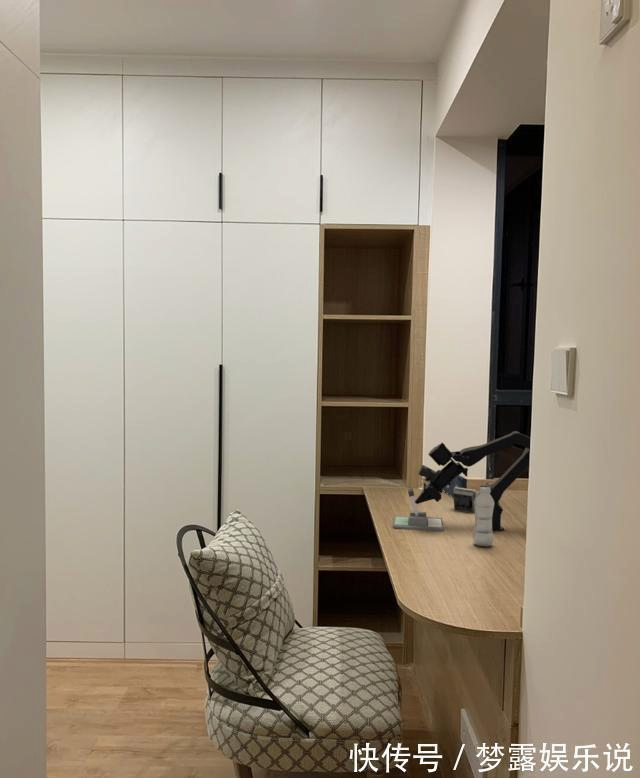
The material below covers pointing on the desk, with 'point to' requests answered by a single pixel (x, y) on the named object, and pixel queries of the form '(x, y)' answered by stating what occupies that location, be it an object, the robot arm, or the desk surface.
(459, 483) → the vhs cassette tape
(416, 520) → the switch plate
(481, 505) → the plastic bottle
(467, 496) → the electrical switch
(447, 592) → the desk surface
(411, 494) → the lever
